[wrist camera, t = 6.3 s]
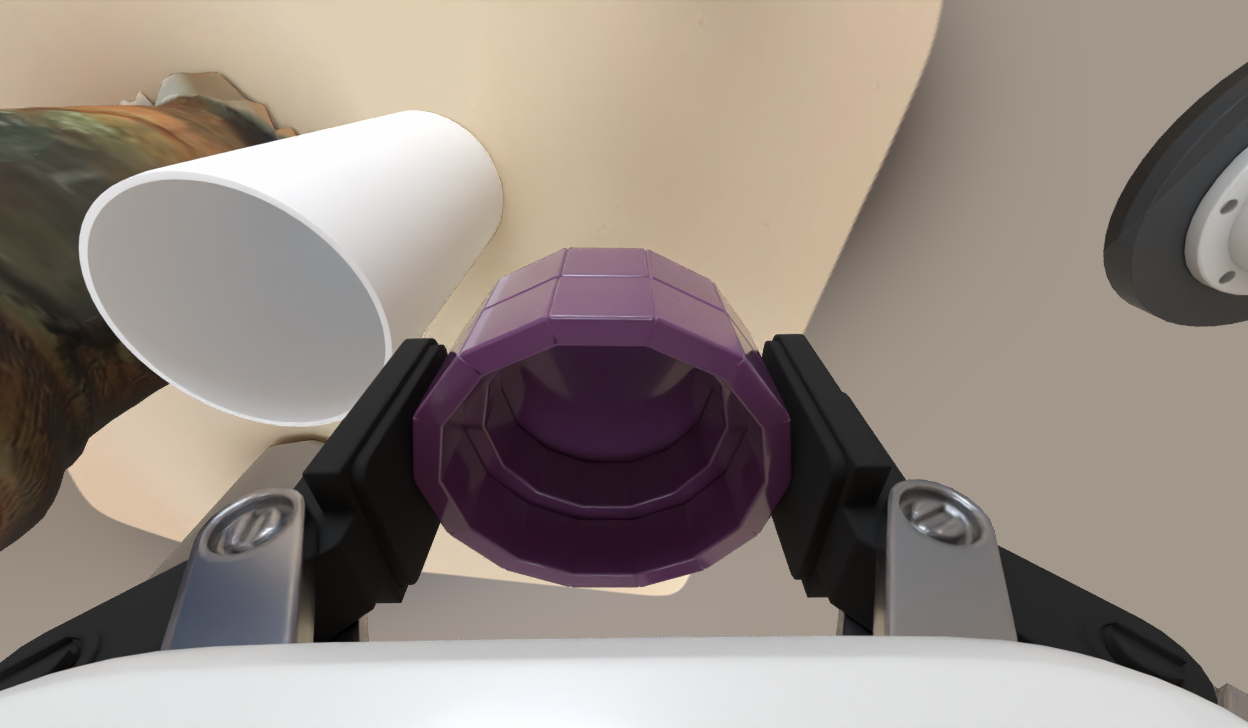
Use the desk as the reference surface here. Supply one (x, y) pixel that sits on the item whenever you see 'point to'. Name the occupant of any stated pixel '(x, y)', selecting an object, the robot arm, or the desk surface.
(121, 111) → the vessel
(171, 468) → the desk surface
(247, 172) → the cup
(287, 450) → the jar
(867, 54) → the desk surface
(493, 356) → the plum dish
